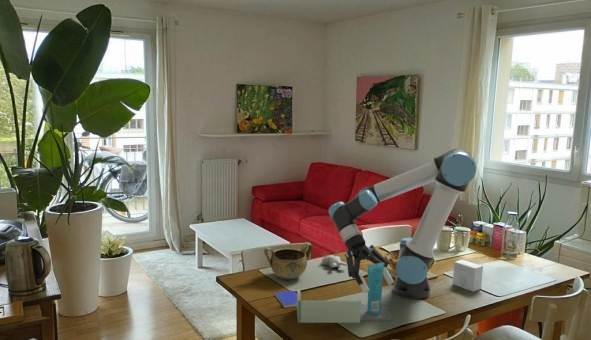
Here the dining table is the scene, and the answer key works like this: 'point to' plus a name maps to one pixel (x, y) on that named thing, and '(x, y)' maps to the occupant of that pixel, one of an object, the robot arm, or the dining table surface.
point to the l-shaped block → (327, 311)
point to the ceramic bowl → (289, 261)
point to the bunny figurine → (333, 261)
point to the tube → (375, 287)
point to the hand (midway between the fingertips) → (379, 287)
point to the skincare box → (467, 275)
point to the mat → (382, 316)
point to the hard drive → (287, 298)
